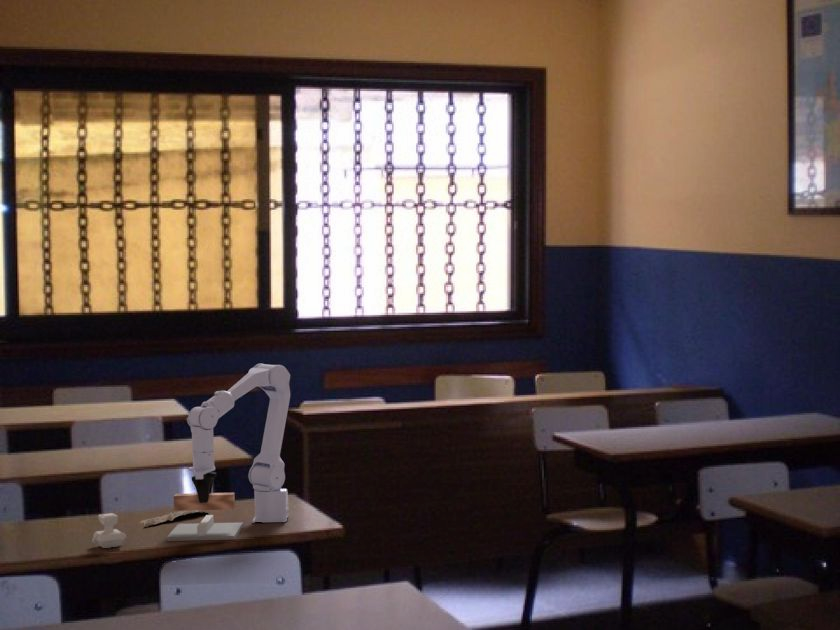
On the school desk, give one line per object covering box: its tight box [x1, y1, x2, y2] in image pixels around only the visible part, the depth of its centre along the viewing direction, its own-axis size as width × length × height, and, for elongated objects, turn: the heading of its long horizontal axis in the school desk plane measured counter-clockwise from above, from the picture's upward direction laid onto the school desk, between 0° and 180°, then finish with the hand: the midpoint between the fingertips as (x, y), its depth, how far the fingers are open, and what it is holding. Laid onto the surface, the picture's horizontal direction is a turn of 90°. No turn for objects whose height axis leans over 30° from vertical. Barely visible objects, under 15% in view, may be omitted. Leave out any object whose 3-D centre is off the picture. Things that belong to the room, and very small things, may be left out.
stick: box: [173, 492, 236, 512], centre depth 346 cm, size 16×3×4 cm, turn 90°
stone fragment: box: [138, 510, 209, 528], centre depth 364 cm, size 25×3×10 cm
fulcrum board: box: [166, 514, 244, 542], centre depth 347 cm, size 18×16×4 cm
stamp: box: [91, 512, 127, 549], centre depth 334 cm, size 9×7×8 cm
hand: (204, 501), depth 346 cm, fingers closed on stick, 3 cm apart
